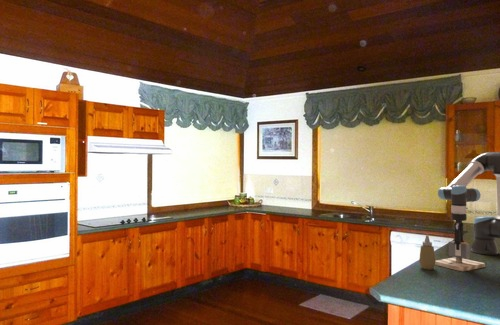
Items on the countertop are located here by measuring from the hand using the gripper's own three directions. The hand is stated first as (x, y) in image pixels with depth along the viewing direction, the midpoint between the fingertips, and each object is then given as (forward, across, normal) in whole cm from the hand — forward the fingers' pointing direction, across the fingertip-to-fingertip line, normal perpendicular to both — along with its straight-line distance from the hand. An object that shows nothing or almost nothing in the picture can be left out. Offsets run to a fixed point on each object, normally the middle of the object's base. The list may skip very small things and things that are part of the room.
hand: (458, 254), depth 221 cm
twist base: (+6, 0, 0) cm, 6 cm away
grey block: (+1, 0, 0) cm, 1 cm away
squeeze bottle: (+6, -17, +13) cm, 22 cm away
